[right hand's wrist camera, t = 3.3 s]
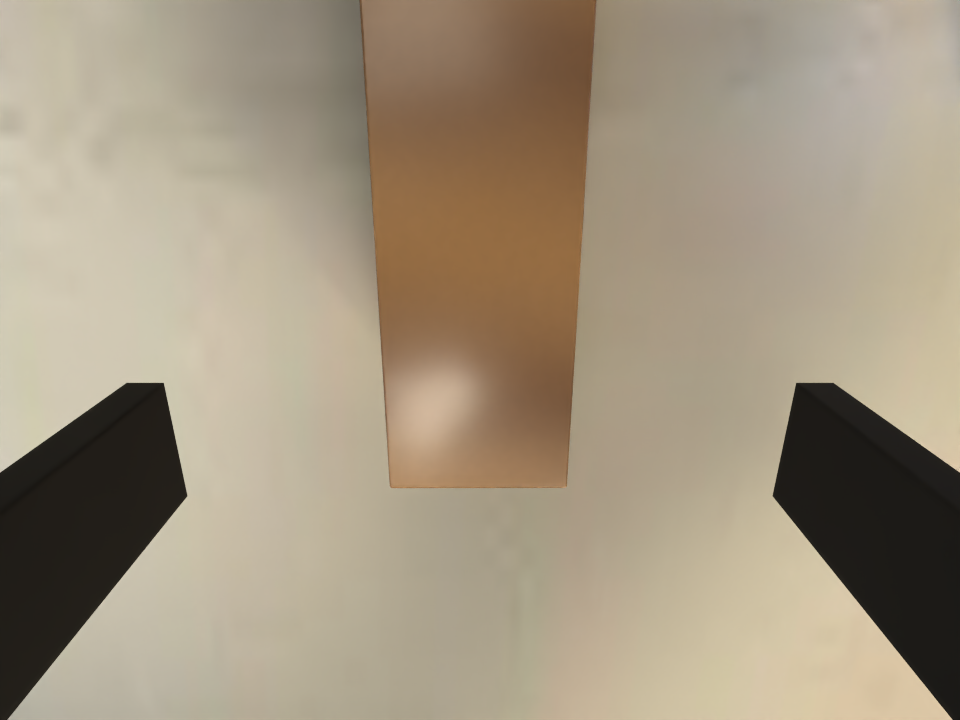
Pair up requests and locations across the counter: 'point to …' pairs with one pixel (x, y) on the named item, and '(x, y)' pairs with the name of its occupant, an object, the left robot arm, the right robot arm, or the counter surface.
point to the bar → (478, 232)
